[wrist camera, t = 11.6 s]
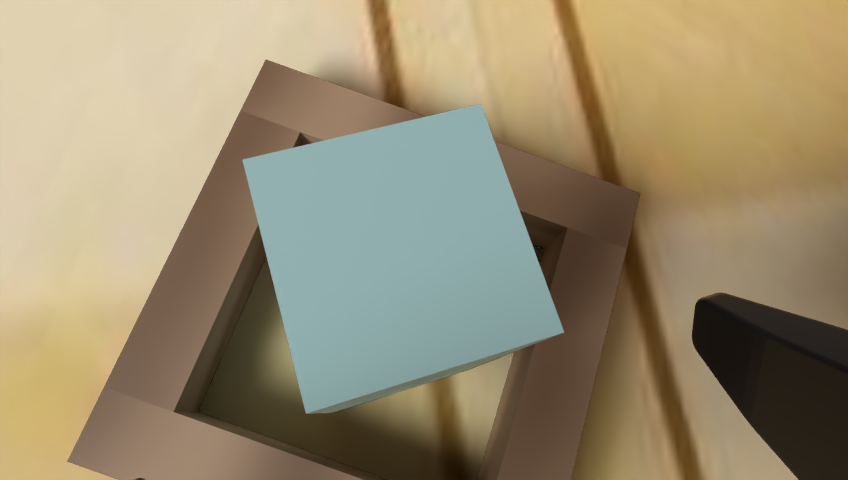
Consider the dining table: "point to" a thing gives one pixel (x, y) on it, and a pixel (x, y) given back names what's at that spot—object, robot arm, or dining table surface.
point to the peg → (397, 257)
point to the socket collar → (240, 265)
